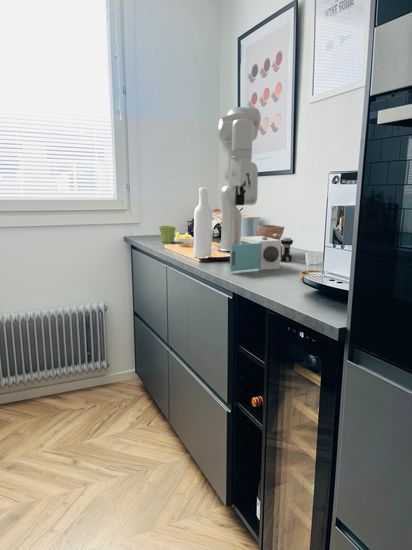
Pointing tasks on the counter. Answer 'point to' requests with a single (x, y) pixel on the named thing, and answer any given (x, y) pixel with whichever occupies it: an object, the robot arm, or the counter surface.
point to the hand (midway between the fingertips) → (239, 204)
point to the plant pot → (167, 233)
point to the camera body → (266, 250)
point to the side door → (245, 256)
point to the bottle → (202, 226)
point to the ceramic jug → (270, 232)
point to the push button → (286, 250)
